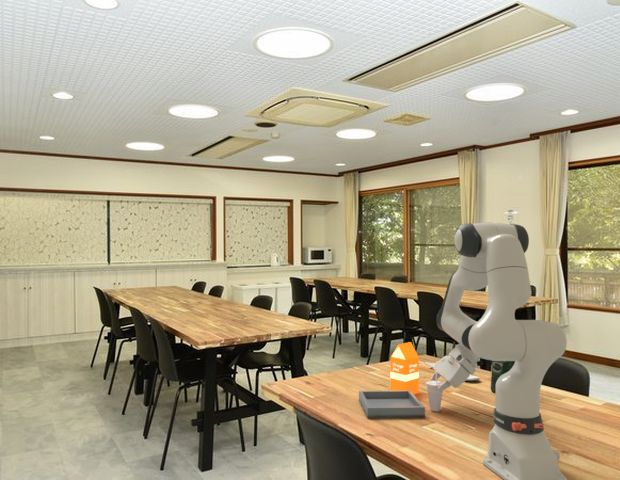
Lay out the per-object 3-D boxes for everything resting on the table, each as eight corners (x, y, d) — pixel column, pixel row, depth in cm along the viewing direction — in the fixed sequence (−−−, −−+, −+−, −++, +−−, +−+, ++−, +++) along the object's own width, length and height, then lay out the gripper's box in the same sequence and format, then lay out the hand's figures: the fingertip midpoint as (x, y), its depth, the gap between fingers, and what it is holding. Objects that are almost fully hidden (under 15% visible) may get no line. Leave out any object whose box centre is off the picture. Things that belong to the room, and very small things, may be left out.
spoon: (439, 366, 243) (439, 359, 243) (484, 382, 213) (484, 375, 213) (424, 367, 240) (424, 360, 240) (467, 385, 210) (467, 376, 210)
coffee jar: (520, 394, 195) (520, 348, 195) (506, 397, 192) (506, 350, 192) (501, 388, 204) (500, 344, 204) (487, 391, 200) (487, 345, 200)
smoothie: (444, 413, 173) (444, 373, 174) (426, 411, 175) (426, 372, 175) (443, 407, 180) (443, 369, 180) (425, 406, 181) (425, 368, 181)
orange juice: (390, 392, 198) (390, 343, 198) (403, 388, 204) (403, 340, 204) (405, 397, 192) (405, 346, 192) (419, 392, 198) (419, 343, 198)
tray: (424, 417, 169) (424, 407, 169) (367, 418, 168) (367, 408, 168) (410, 399, 189) (410, 390, 189) (358, 400, 188) (358, 391, 188)
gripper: (445, 347, 188) (420, 373, 188) (464, 360, 168) (436, 388, 167) (456, 359, 188) (432, 384, 188) (477, 372, 168) (449, 401, 167)
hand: (434, 386), depth 177 cm, fingers open, 8 cm apart
